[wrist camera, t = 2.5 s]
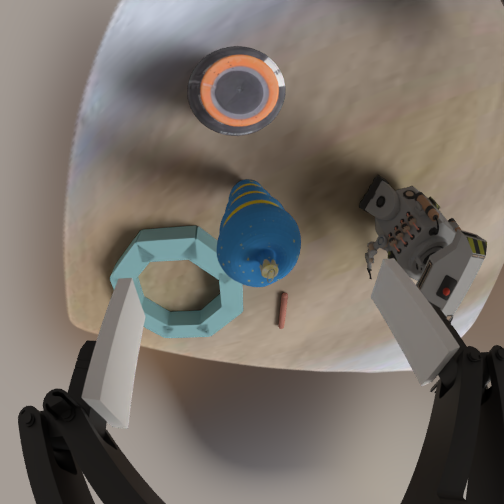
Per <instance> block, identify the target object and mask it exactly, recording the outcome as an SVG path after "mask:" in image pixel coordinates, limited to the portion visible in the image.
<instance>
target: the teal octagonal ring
mask: <svg viewBox="0 0 504 504" xmlns="http://www.w3.org/2000/svg"><path fill="white" fill-rule="evenodd" d="M173 260H190V261H191V262H193V263H194V264H196V265H197V266H199V267H200V268H202V269H203V270H205V271H206V272H208V273H209V274H211V275H212V276H214V277H215V278H217V279H218V280H219V285H220V294H219V295H218V296H217V297H216V298H215V299H213V300H212V301H211V302H210V303H209V304H208V305H206V306H205V307H204V308H203V309H202V310H200V311H176V312H170V311H168V310H166V309H165V308H163V307H161V306H159V305H158V304H156V303H154V302H153V301H151V300H149V299H148V298H146V297H144V295H143V291H142V288H141V285H140V282H139V279H138V276H139V274H140V273H141V272H142V271H143V270H144V268H145V267H146V266H147V265H148V264H149V262H156V261H173ZM120 278H132V279H133V282H134V285H135V288H136V291H137V294H138V297H139V300H140V303H141V306H142V309H143V311H144V314H145V322H144V327H145V328H147V329H149V330H150V331H152V332H154V333H156V334H158V335H160V336H162V337H165V338H187V337H210V336H212V335H213V334H215V333H216V332H217V331H219V330H220V329H221V328H223V327H224V326H225V325H226V324H228V323H229V322H230V321H232V320H233V319H234V318H236V317H237V316H238V315H240V314H241V313H242V311H243V288H242V284H241V283H239V282H237V281H235V280H233V279H232V278H230V277H229V276H228V275H227V274H226V273H225V272H224V270H223V269H222V267H221V266H220V264H219V262H218V259H217V240H216V239H215V238H213V237H212V236H211V235H209V234H208V233H207V232H205V231H204V230H203V229H201V228H200V227H199V226H198V227H197V226H183V227H169V228H156V229H144V230H142V231H140V232H139V233H138V234H137V236H136V237H135V238H134V240H133V241H132V242H131V244H130V245H129V247H128V248H127V249H126V251H125V252H124V253H123V255H122V256H121V258H120V259H119V260H118V262H117V263H116V265H115V267H114V269H113V271H112V274H111V276H110V281H111V283H112V286H113V289H115V286H116V284H117V281H118V279H120Z"/></svg>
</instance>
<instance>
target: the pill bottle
mask: <svg viewBox="0 0 504 504" xmlns="http://www.w3.org/2000/svg"><path fill="white" fill-rule="evenodd" d="M187 95H188V100H189V104H190V107H191V109H192V111H193V113H194V115H195V116H196V117H197V119H198V120H199V121H200V122H201V123H202V124H203V125H205V126H206V127H208V128H209V129H211V130H213V131H215V132H218V133H221V134H225V135H231V136H240V135H246V134H251V133H254V132H256V131H259V130H260V129H262V128H264V127H265V126H267V125H268V124H269V123H271V122H272V121H273V120H274V119H275V117H276V116H277V115H278V113H279V112H280V110H281V108H282V105H283V102H284V99H285V83H284V79H283V76H282V74H281V71H280V70H279V68H278V66H277V65H276V64H275V63H274V62H273V61H272V60H271V59H270V58H269V57H268V56H267V55H265V54H264V53H262V52H260V51H258V50H255V49H252V48H248V47H240V46H234V47H227V48H222V49H219V50H217V51H215V52H212V53H211V54H209V55H207V56H206V57H205V58H203V59H202V60H201V61H200V62H199V64H198V65H197V66H196V67H195V69H194V70H193V72H192V74H191V76H190V79H189V83H188V94H187Z"/></svg>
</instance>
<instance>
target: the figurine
mask: <svg viewBox="0 0 504 504" xmlns="http://www.w3.org/2000/svg"><path fill="white" fill-rule="evenodd" d="M388 184H389V183H388V182H387V181H386V180H385V179H384V178H382V177H381V176H379V175H377V177H376V178H375V179H374V180H373V184H371V185H370V189H369V191H368V193H367V194H365V195H364V199H363V200H362V201H361V202H360V206H359V207H360V208H361V209H363V210H364V211H366V212H368V213H370V214H371V215H373V216H375V226H376V232H377V234H378V236H379V237H378V238H377V240H376V242H369V243H368V244H367V245H368V247H369V248H368V252H367V253H365V258H366V262H367V267H368V268H367V270H368V272H369V275H370V279H372V278H371V273H370V271H372V270H371V262H372V263H374V257H373V256H374V255H375V254H377V249H378V248H382V249H384V250H386V251H387V253H388V259H391V258H394V259H395V260H396V261H397V263H398V264H399V265H400V266H401V267H402V269H403V270H404V271H405V272H406V273H407V275H408V276H409V277H410V278H413V279H415V280H418V282H417V284H416V286H417V287H418V289H419V290H420V291H421V292H422V294H423V295H424V296H425V298H426V299H427V300H428V302H429V303H430V304H431V306H432V305H435V306H436V307H438V308H439V309H440V310H441V311H442V312H443V313H444V315H445V316H446V317H447V320H449V322H450V323H451V321H452V319H453V315H454V314H455V312H456V310H457V309H458V307H459V305H460V304H461V302H462V300H463V299H464V297H465V295H466V293H467V292H468V290H469V288H470V286H471V284H472V282H473V280H474V279H475V277H476V275H477V273H478V271H479V269H480V267H481V265H482V263H483V261H484V258H485V256H486V249H487V242H486V241H485V240H484V239H482V238H481V237H479V236H478V235H476V234H473V233H469V232H466V231H462V230H461V229H460V227H459V226H458V224H457V223H456V221H455V220H454V219H453V218H451V219H449V220H448V221H447V220H446V218H445V217H444V216H443V215H442V213H441V212H440V211H439V208H440V206H439V205H438V204H437V203H436V202H435V201H434V200H433V199H432V198H431V197H429V198H427V197H426V196H425V195H424V194H423V193H422V192H420V191H418V190H417V189H416V188H414V187H413V186H410V187H407V188H403V189H399V190H396V191H395V190H394V189H393V188H392V187H391V186H390V185H388Z"/></svg>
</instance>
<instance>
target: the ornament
mask: <svg viewBox="0 0 504 504" xmlns="http://www.w3.org/2000/svg"><path fill="white" fill-rule="evenodd" d="M300 248H301V236H300V232H299V228H298V225H297V223H296V222H295V220H294V219H293V218H292V216H291V215H290V214H289V213H288V212H286V211H285V210H284V208H283V206H282V205H281V204H280V203H279V202H278V200H276V199H275V198H273V197H272V196H270V194H269V193H268V192H267V191H266V190H265V189H263V188H262V186H261V185H260V184H259V183H258V182H256V181H254V180H249V179H246V180H242V181H240V182H238V183H237V184H236V185H235V186H234V187H233V189H232V190H231V193H230V195H229V202H228V204H227V207H226V210H225V214H224V216H223V218H222V221H221V225H220V235H219V237H218V241H217V259H218V262H219V264H220V266H221V267H222V269H223V270H224V272H225V273H226V274H227V275H228V276H229V277H230V278H232V279H233V280H235V281H237V282H239V283H241V284H244V285H247V286H252V287H264V286H267V285H270V284H272V283H274V282H276V281H278V280H280V279H282V278H283V277H285V276H286V275H287V274H288V273H289V272H290V271H291V270H292V269H293V267H294V266H295V264H296V262H297V260H298V257H299V254H300Z"/></svg>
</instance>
